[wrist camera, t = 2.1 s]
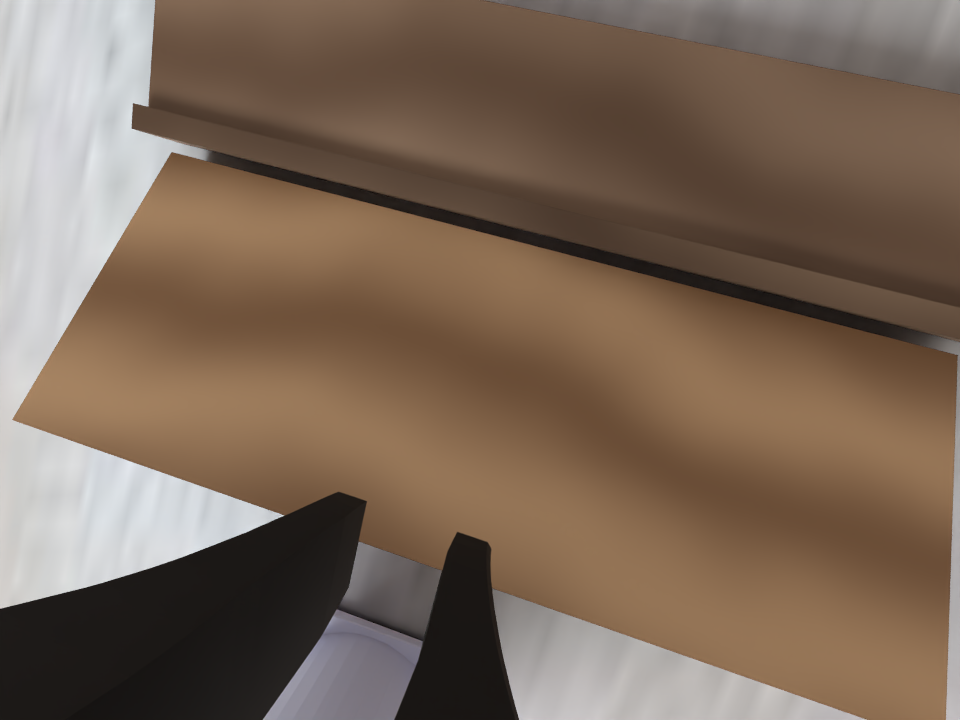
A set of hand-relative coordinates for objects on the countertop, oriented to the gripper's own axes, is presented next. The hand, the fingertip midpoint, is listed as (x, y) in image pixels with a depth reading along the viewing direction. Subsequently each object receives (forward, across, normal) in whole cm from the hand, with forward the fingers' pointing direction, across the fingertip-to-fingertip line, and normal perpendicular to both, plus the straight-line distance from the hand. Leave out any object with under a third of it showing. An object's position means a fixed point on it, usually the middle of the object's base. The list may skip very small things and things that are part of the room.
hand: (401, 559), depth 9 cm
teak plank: (+7, 0, -1) cm, 7 cm away
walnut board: (+9, 0, -10) cm, 14 cm away
